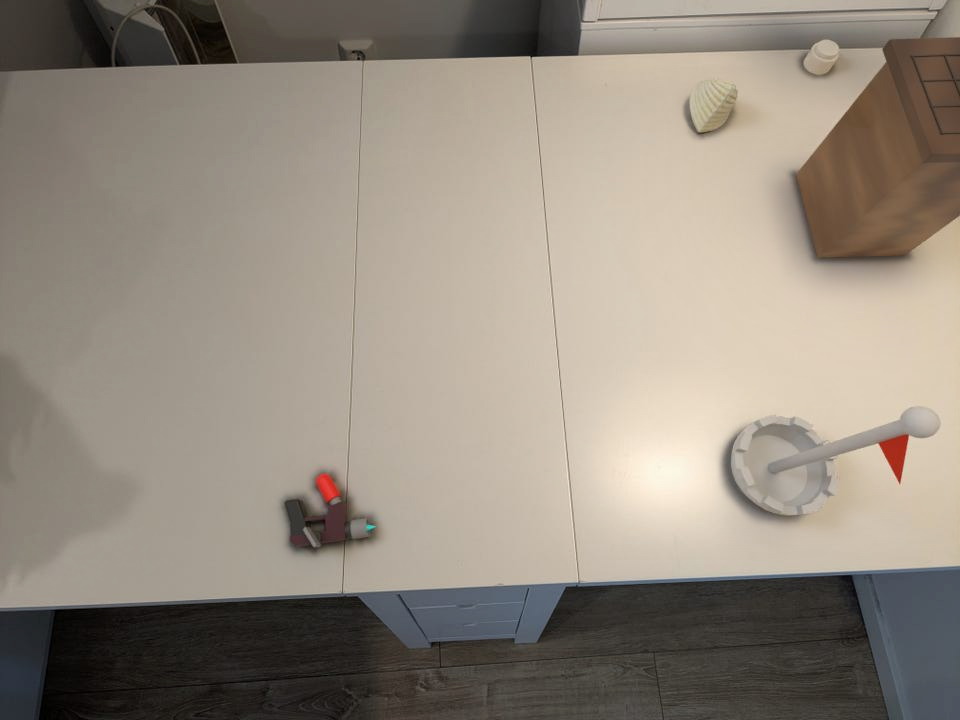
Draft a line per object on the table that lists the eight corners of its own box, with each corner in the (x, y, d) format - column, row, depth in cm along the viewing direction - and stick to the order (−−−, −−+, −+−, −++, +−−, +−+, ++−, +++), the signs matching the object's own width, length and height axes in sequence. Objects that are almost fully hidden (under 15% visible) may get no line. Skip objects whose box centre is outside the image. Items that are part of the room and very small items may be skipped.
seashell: (745, 89, 97) (754, 102, 91) (709, 130, 103) (714, 145, 97) (710, 61, 96) (717, 72, 90) (675, 104, 101) (679, 118, 95)
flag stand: (720, 419, 80) (847, 343, 52) (812, 427, 79) (992, 356, 51) (724, 511, 76) (865, 484, 47) (822, 522, 75) (1024, 500, 47)
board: (881, 168, 94) (1017, 34, 70) (912, 261, 88) (1071, 149, 64) (787, 171, 94) (890, 38, 70) (811, 264, 88) (932, 154, 64)
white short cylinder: (825, 56, 103) (838, 36, 99) (831, 75, 101) (845, 57, 97) (799, 56, 103) (811, 37, 99) (805, 76, 101) (817, 58, 97)
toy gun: (379, 539, 75) (372, 538, 71) (290, 552, 75) (277, 552, 70) (373, 468, 78) (366, 462, 74) (288, 480, 78) (276, 475, 73)
